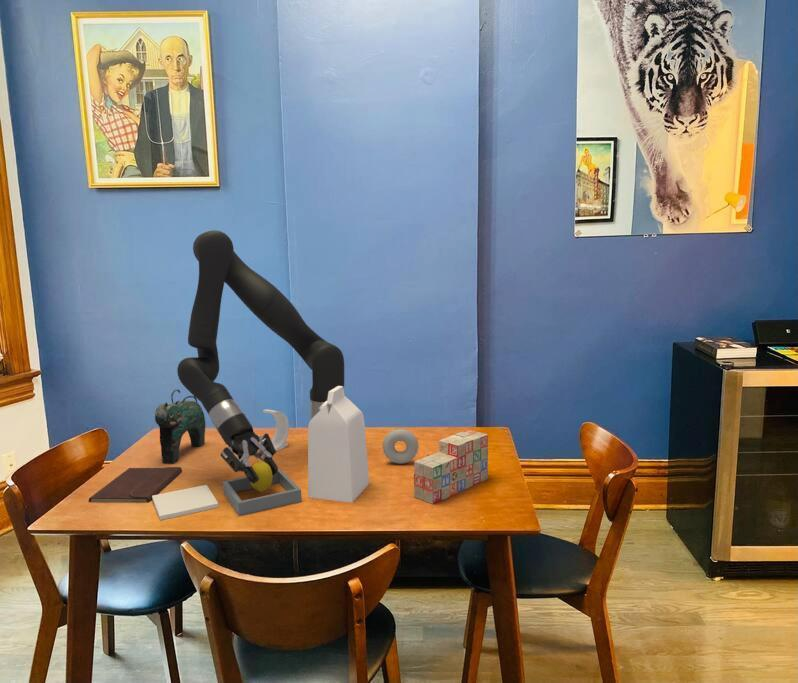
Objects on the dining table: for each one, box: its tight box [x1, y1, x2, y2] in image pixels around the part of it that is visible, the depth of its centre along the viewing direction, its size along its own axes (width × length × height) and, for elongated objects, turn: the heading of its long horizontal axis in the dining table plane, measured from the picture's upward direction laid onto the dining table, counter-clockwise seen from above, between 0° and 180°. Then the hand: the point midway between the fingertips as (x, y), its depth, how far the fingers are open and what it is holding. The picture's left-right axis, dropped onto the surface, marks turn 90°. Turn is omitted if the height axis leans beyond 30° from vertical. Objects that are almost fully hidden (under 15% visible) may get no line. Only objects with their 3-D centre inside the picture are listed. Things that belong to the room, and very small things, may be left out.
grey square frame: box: [222, 469, 303, 517], centre depth 149 cm, size 15×15×3 cm
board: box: [151, 484, 220, 521], centre depth 146 cm, size 13×13×1 cm
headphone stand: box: [262, 409, 290, 452], centre depth 185 cm, size 5×6×12 cm
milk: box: [307, 386, 370, 503], centre depth 151 cm, size 12×12×26 cm
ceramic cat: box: [154, 389, 206, 465], centre depth 180 cm, size 20×6×20 cm, turn 166°
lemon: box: [250, 460, 273, 493], centre depth 149 cm, size 6×6×8 cm
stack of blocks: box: [413, 429, 489, 505], centre depth 152 cm, size 21×6×12 cm, turn 135°
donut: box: [382, 428, 419, 465], centre depth 169 cm, size 10×4×10 cm, turn 88°
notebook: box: [88, 466, 183, 503], centre depth 157 cm, size 15×20×2 cm
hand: (265, 477), depth 148 cm, fingers closed on lemon, 5 cm apart
